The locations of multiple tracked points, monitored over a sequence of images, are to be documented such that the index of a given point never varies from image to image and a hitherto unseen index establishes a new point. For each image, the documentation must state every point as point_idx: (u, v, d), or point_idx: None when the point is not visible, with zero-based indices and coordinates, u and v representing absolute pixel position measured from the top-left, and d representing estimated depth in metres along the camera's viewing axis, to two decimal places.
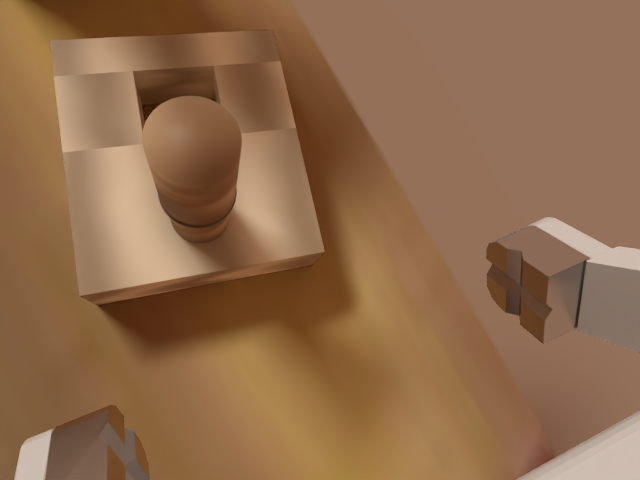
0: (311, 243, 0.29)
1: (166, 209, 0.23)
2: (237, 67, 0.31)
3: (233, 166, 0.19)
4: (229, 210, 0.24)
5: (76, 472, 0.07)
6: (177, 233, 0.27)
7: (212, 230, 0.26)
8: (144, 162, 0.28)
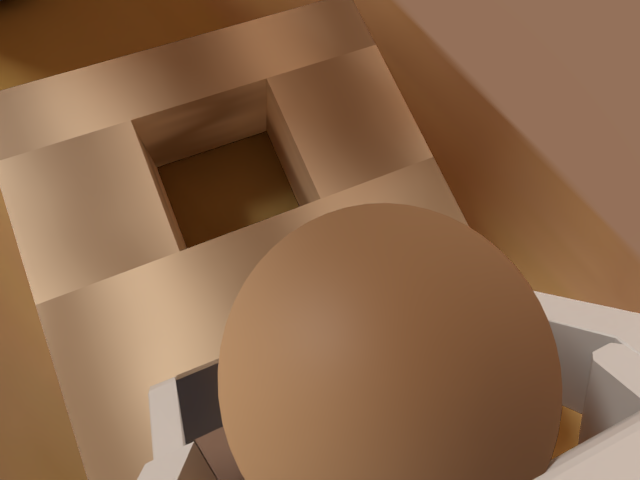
0: None
1: None
2: (307, 72, 0.17)
3: (552, 431, 0.05)
4: None
5: (211, 411, 0.08)
6: None
7: None
8: (187, 286, 0.15)
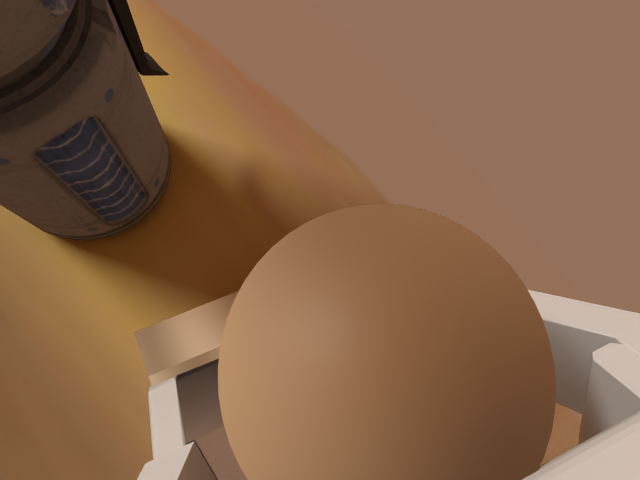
0: None
1: None
2: None
3: (545, 428, 0.05)
4: None
5: (211, 411, 0.08)
6: None
7: None
8: None
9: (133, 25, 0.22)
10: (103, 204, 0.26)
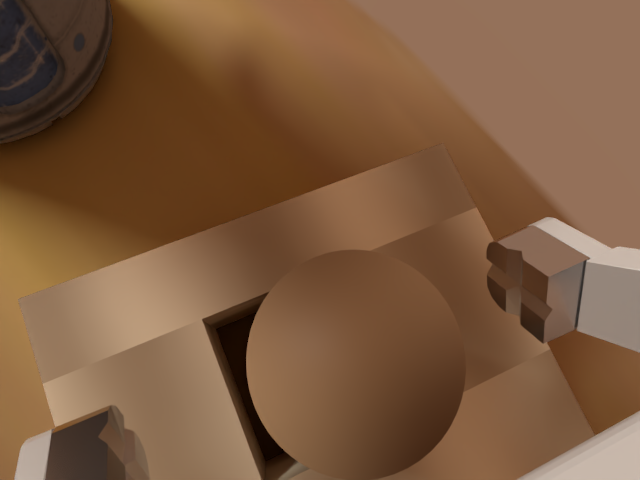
0: None
1: None
2: (401, 246, 0.15)
3: (459, 398, 0.08)
4: None
5: (76, 472, 0.07)
6: None
7: None
8: None
9: None
10: None
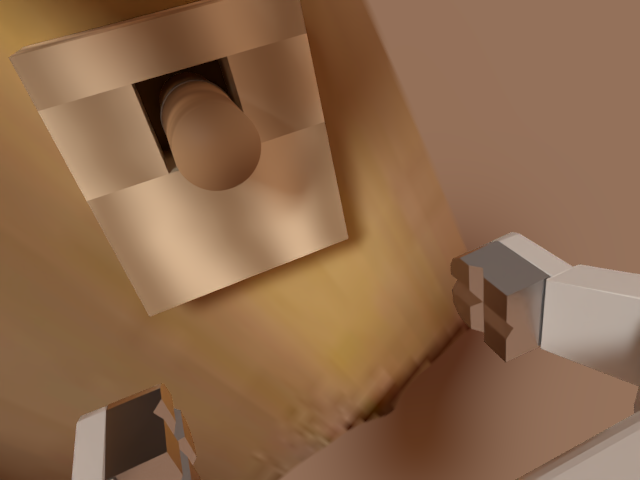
0: (337, 234, 0.32)
1: None
2: (255, 53, 0.25)
3: (255, 166, 0.21)
4: None
5: (135, 445, 0.07)
6: None
7: None
8: (173, 193, 0.27)
9: None
10: None
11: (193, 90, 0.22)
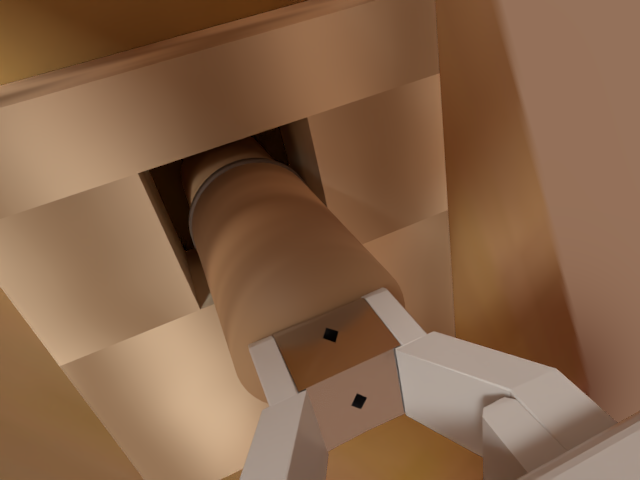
0: None
1: None
2: (355, 109, 0.14)
3: None
4: None
5: (317, 364, 0.08)
6: None
7: None
8: (207, 336, 0.16)
9: None
10: None
11: (258, 193, 0.12)
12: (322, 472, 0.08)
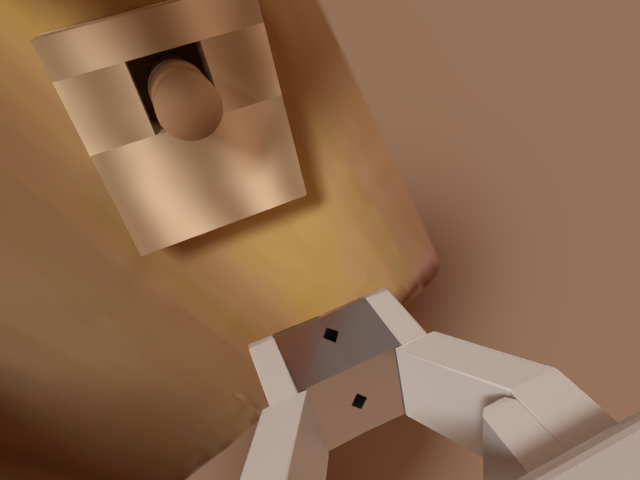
0: (297, 191, 0.39)
1: None
2: (223, 38, 0.31)
3: (219, 122, 0.28)
4: None
5: (317, 364, 0.08)
6: None
7: None
8: (159, 151, 0.33)
9: None
10: None
11: (172, 65, 0.29)
12: (323, 472, 0.08)
